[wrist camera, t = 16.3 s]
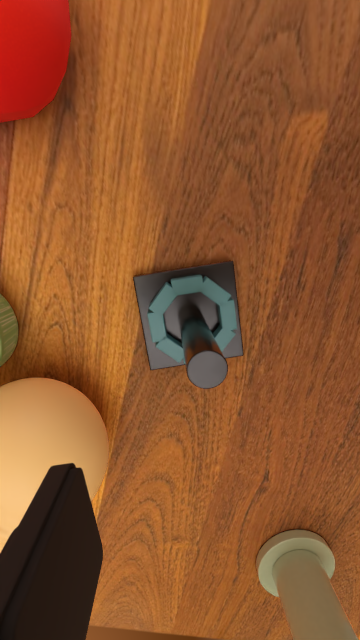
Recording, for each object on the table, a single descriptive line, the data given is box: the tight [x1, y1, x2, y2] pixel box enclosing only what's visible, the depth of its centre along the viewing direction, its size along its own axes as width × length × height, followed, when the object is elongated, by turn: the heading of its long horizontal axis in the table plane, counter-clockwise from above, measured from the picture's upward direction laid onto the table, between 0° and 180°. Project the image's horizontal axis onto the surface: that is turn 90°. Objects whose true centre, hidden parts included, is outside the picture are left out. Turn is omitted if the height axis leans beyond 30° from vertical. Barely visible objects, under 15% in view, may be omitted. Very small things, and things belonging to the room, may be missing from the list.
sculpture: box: [0, 378, 109, 553], centre depth 24 cm, size 12×12×11 cm
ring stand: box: [256, 530, 359, 640], centre depth 29 cm, size 8×8×10 cm
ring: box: [147, 275, 237, 364], centre depth 26 cm, size 7×7×1 cm
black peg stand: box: [133, 260, 243, 389], centre depth 21 cm, size 8×8×12 cm
